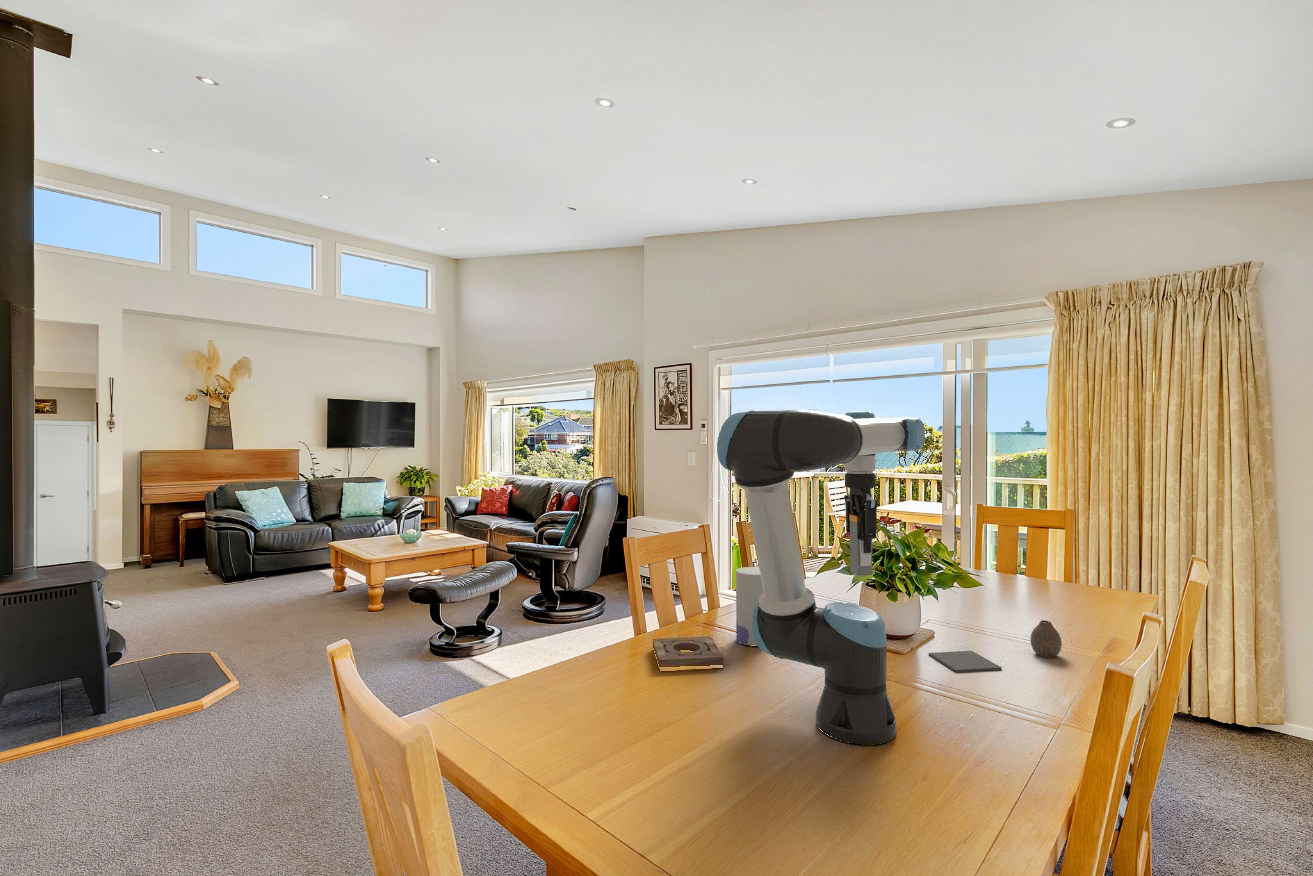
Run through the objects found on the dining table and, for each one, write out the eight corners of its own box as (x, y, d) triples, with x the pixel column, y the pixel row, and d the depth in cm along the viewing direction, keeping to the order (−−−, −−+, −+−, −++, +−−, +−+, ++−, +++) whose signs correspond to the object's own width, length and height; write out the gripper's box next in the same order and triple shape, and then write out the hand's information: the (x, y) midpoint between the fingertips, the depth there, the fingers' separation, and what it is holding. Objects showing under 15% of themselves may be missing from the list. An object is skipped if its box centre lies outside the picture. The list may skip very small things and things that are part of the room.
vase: (1053, 650, 166) (1052, 617, 166) (1067, 660, 159) (1067, 625, 159) (1025, 650, 167) (1025, 617, 167) (1038, 659, 160) (1038, 625, 160)
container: (775, 647, 171) (774, 574, 170) (738, 647, 171) (737, 574, 171) (769, 635, 181) (768, 566, 180) (734, 635, 181) (734, 566, 181)
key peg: (857, 575, 158) (857, 516, 157) (850, 572, 162) (849, 514, 162) (872, 575, 158) (872, 515, 158) (864, 571, 162) (864, 513, 162)
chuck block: (723, 668, 155) (723, 656, 155) (659, 672, 154) (659, 659, 154) (710, 647, 171) (710, 636, 171) (652, 649, 169) (652, 638, 169)
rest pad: (1001, 669, 153) (1001, 667, 153) (955, 672, 152) (955, 669, 152) (971, 653, 165) (971, 650, 165) (928, 655, 163) (928, 652, 163)
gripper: (891, 474, 152) (892, 570, 152) (857, 469, 169) (858, 556, 169) (862, 474, 151) (863, 571, 151) (831, 470, 168) (832, 557, 168)
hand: (861, 563), depth 160 cm, fingers closed on key peg, 4 cm apart
